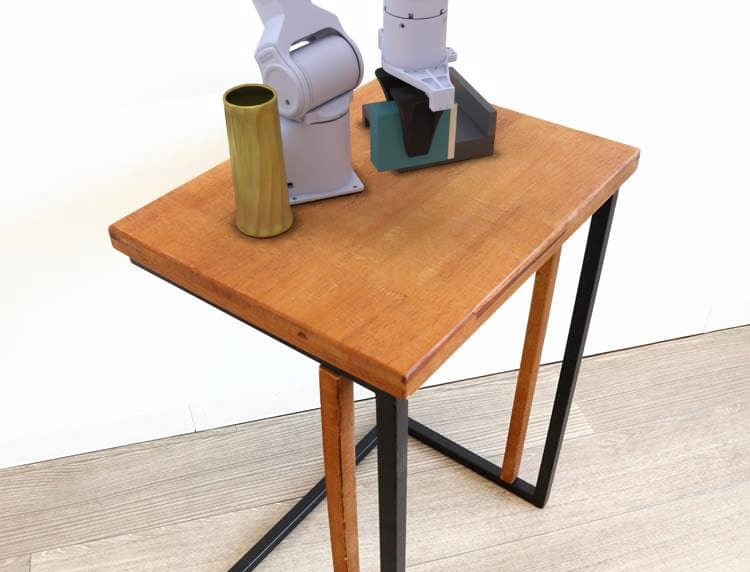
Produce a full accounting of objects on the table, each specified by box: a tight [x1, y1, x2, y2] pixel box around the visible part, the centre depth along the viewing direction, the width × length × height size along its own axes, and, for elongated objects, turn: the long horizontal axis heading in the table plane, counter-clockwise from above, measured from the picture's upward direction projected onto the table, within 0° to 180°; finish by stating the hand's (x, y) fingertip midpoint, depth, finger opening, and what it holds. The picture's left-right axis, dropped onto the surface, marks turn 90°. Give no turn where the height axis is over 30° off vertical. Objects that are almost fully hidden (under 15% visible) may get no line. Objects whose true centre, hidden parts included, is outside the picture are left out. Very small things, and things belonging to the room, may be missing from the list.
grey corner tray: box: [361, 66, 498, 174], centre depth 101 cm, size 12×13×6 cm
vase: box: [222, 82, 295, 238], centre depth 85 cm, size 6×6×14 cm
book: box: [369, 100, 457, 173], centre depth 83 cm, size 3×8×6 cm, turn 109°
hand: (411, 147), depth 84 cm, fingers closed on book, 2 cm apart
